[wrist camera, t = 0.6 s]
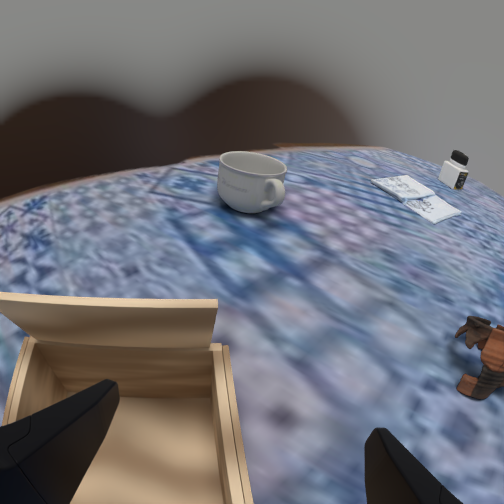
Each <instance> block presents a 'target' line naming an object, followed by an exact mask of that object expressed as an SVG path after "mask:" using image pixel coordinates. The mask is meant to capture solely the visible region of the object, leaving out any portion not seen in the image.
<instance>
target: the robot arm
mask: <svg viewBox="0 0 504 504" xmlns="http://www.w3.org/2000/svg"><path fill="white" fill-rule="evenodd" d="M119 401H120V396H119V388H118V383H117V382H116V381H113V380H110V379H104V380H102V381H100V382H98V383H96V384H94V385H92V386H90V387H88V388H86V389H84V390H82V391H80V392H78V393H76V394H74V395H72V396H70V397H68V398H66V399H63V400H61V401H59V402H57V403H55V404H53V405H51V406H49V407H46V408H44V409H42V410H40V411H38V412H36V413H34V414H32V416H31V415H29V416H27V417H25V418H22V419H20V420H17V421H15V422H13V423H10V424H7V425H4V426H1V427H0V504H70V502H71V501H72V499H73V497H74V495H75V493H76V491H77V489H78V487H79V485H80V483H81V481H82V480H83V478H84V476H85V474H86V472H87V470H88V468H89V466H90V465H91V463H92V461H93V459H94V457H95V455H96V454H97V452H98V450H99V448H100V446H101V444H102V443H103V441H104V439H105V437H106V435H107V432H108V430H109V427H110V425H111V422H112V420H113V417H114V415H115V412H116V410H117V407H118V405H119ZM365 488H366V497H367V504H463V503H462V502H461V501H460V500H458V499H457V498H456V497H455V496H454V495H453V494H452V493H451V492H449V491H448V490H447V489H446V488H445V487H444V486H443V485H442V484H441V483H440V482H439V481H438V480H437V479H436V478H435V477H434V476H433V475H432V474H431V473H430V472H429V471H428V470H427V469H426V468H425V467H424V466H423V465H422V464H421V463H420V462H419V461H418V460H417V459H416V458H415V457H414V456H413V455H412V454H411V453H410V452H409V451H408V450H407V449H406V448H405V447H404V446H403V445H402V444H401V443H400V442H399V441H398V440H397V439H396V438H395V437H394V436H393V435H392V434H391V433H390V431H389V430H388V429H386V428H375V429H374V430H373V431H372V433H371V434H370V436H369V437H368V439H367V440H366V443H365Z"/></svg>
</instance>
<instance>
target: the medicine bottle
mask: <svg viewBox="0 0 504 504" xmlns="http://www.w3.org/2000/svg"><path fill="white" fill-rule="evenodd" d="M467 162H468V157H467V156H466V155H465V154H463V153H462V152H459V151H457V150H454V151H453V152H452V156H451V158H450V162H449V161H445V162H444V164H443V167H442V169H441V172H440V175H439V177H438V180H439V181H441V182H442V183H444V184H445V185H447V186H448V187H450V188H451V189H453V190H461V189H462V187H463V185H464V182H465V180H466V177H467V175H468V171H467V170H466V169H464V168H465V167H466V165H467Z"/></svg>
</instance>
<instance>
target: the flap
mask: <svg viewBox="0 0 504 504" xmlns="http://www.w3.org/2000/svg"><path fill="white" fill-rule="evenodd" d="M217 310H218V301H217V299H125V298H93V297H70V296H51V295H34V294H20V293H7V292H0V312H1V313H2V314H3V315H4V316H6V317H7V318H8V319H9V320H11V321H12V322H13V323H15V324H16V325H17V326H18V327H20V328H21V329H22V330H24V331H25V332H26V333H28V334H29V335H30V336H32V337H33V338H35V339H36V340H44V341H53V342H63V343H74V344H87V345H102V346H121V347H150V348H210V344H211V339H212V334H213V329H214V324H215V319H216V314H217Z"/></svg>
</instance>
